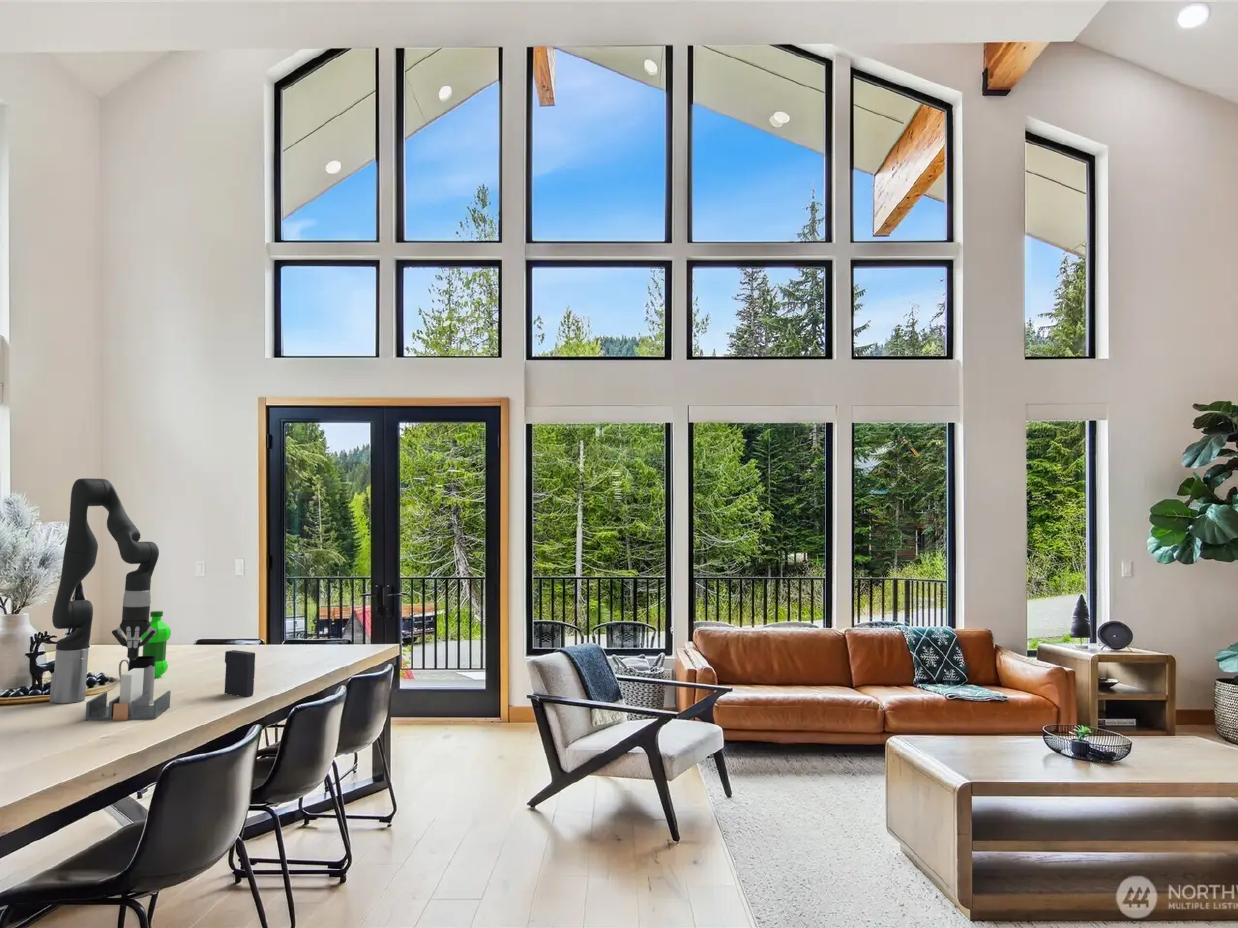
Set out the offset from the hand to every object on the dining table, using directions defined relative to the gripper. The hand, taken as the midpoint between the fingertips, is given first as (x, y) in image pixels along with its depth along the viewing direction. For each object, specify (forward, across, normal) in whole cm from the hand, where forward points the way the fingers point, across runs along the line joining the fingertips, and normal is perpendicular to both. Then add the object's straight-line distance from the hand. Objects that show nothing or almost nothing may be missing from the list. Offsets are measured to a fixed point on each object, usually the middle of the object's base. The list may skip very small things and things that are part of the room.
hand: (132, 659), depth 263 cm
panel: (+16, 0, +1) cm, 16 cm away
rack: (+17, 0, 0) cm, 17 cm away
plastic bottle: (+18, -11, +63) cm, 67 cm away
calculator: (+17, +27, +26) cm, 41 cm away
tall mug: (+17, -4, +17) cm, 25 cm away
